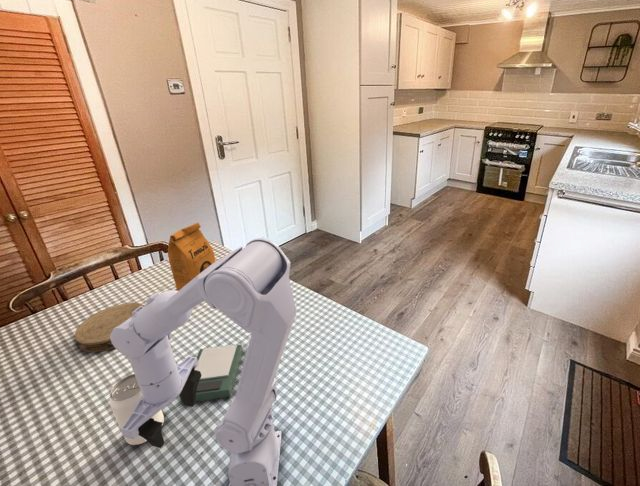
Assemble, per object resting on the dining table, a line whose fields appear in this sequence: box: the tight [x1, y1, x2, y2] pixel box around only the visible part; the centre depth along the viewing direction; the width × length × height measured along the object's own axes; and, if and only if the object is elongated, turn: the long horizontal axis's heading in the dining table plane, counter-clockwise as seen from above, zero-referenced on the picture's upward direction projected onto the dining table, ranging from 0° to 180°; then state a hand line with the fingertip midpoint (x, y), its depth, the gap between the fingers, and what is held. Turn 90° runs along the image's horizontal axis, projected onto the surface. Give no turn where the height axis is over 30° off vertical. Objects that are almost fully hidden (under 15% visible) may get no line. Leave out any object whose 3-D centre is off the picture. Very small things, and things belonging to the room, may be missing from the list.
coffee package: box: [167, 222, 217, 291], centre depth 101 cm, size 10×12×22 cm
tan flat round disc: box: [74, 302, 145, 353], centre depth 85 cm, size 16×16×3 cm
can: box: [109, 373, 165, 446], centre depth 58 cm, size 6×6×12 cm
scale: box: [179, 344, 243, 405], centre depth 72 cm, size 13×10×3 cm
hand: (174, 423), depth 57 cm, fingers open, 7 cm apart
